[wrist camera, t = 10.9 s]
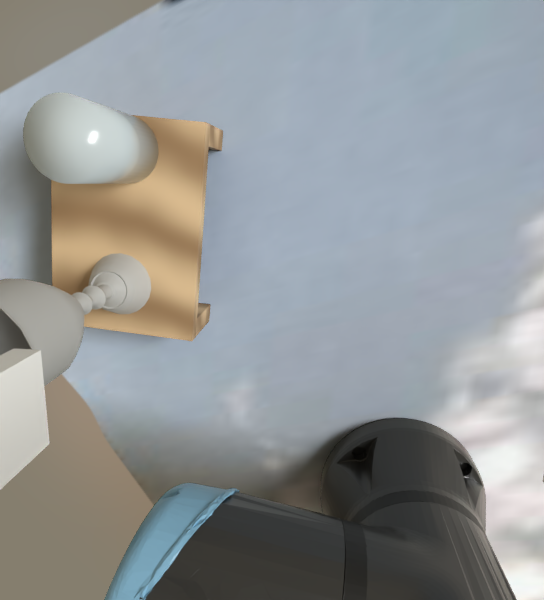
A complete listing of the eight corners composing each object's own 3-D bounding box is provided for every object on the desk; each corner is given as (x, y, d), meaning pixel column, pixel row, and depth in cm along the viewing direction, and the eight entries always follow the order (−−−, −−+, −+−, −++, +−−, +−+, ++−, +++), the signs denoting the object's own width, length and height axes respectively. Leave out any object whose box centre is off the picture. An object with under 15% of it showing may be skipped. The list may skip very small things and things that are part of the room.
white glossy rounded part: (157, 187, 37) (105, 187, 28) (94, 180, 37) (24, 179, 29) (159, 117, 36) (106, 96, 27) (95, 111, 36) (22, 88, 27)
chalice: (66, 302, 40) (-130, 391, 22) (92, 226, 38) (-99, 260, 21) (147, 339, 40) (13, 457, 23) (176, 265, 38) (57, 330, 21)
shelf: (209, 320, 45) (192, 341, 40) (86, 304, 46) (52, 322, 41) (223, 131, 41) (206, 122, 35) (88, 117, 42) (50, 107, 36)
